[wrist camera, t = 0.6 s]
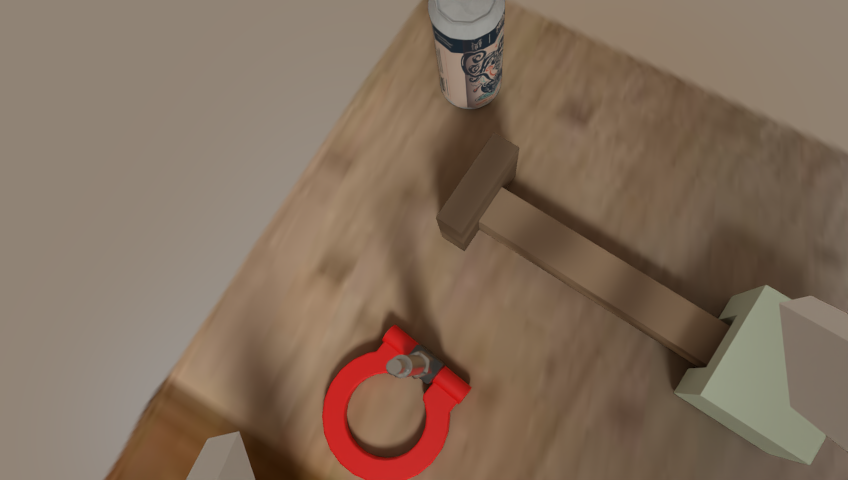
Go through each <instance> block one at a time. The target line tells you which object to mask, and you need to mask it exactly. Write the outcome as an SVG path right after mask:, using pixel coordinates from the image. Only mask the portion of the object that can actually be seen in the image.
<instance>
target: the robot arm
mask: <svg viewBox="0 0 848 480" xmlns="http://www.w3.org/2000/svg"><path fill="white" fill-rule="evenodd" d="M779 307H780V316H781V326H782V335H783V344H784V353H785V363H786V372H787V381H788V390H789V400H790V407H791V408H793V409H794V410H795V411H797V412H798V413H799V414H800V415H802V416H803V417H804V418H805V419H807V420H808V421H809V422H810V423H812V424H813V425H814V426H815V427H817V428H818V429H819V430H820V431H822V432H823V433H824V434H825V435H827V436H828V437H829V438H830V439H832V440H833V441H834V442H835V443H837V444H838V445H839V446H840V447H842V448H843V449H844V450H846V451H847V452H848V314H847V313H845V312H843V311H841V310H839V309H837V308H835V307H833V306H831V305H829V304H827V303H825V302H823V301H821V300H819V299H817V298H815V297H813V296H806V297H802V298H798V299H794V300H790V301H785V302H781V303H779ZM186 480H255V477H254V474H253V471H252V468H251V465H250V462H249V459H248V456H247V453H246V450H245V447H244V444H243V441H242V438H241V435H240V432H239V431H238V432H234V433H230V434H225V435H221V436H217V437H213V438H209V439H207V441H206V443H205V445H204V447H203V449H202V451H201V453H200V454H199V456H198V458H197V460H196V462H195V464H194V466H193V468H192V469H191V471H190V473H189V475H188V477H187V479H186Z"/></svg>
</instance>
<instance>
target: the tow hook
mask: <svg viewBox="0 0 848 480" xmlns="http://www.w3.org/2000/svg"><path fill="white" fill-rule="evenodd" d="M382 341H384V342H383V344H382V345H381V346H380V347H379V349H378V350H377V351H375V352H369V353H366V354H364V355H362V356H360V357H357V358H355V359H353V360H352V361H351V362H350V363H348V364H347V365H346V366H345V367H343V368H342V369H341V370H340V371H339V373H338V374H337V375H336V377H335V378H334V380H333V381H332V382H331V384H330V387H329V389H328V392H327V394H326V397H325V399H324V407H323V414H322V418H323V427H324V434H325V437H326V439H327V442H328V445H329V447H330V450H331V451H332V452H333V454H334V455H335V457H336V458H337V459H338V461H339V462H340V464H342V465H343V466H344V467H345V468H346V469H348V470H349V471H350V472H351V473H353V474H354V475H356V476H358V477H361V478H363V479H365V480H407V479H409V478H411V477H414V476H416V475H418V474H419V473H421V472H422V471H423V470H424V469H425V468H427V467H428V466H429V465H430V464H431V463H432V462H433V461H434V459H435V458H436V456H437V455H438V454H439V452H440V451H441V449H442V448H443V445H444V443H445V440H446V437H447V435H448V432H449V423H450V411H451V410H452V409H453V407H454V406H455V405H456V404H457V403H458V404H459V403H461V401H462V400H463V399H464V398H465V396H466V395H467V394H468V392H469V391H470V390H471V388H472V387H471V386H469V385H468V384H467V383H466V382H465V381H463V380H462V379H461V378H460V377H458V376H457V375H456V374H455V373H454V372H452V371H451V370H450V369H449V368H448V367H446V366H445V363H444V362H443V361H441V360H440V359H439V358H438V357H437V356H435V355H434V354H433V353H432V352H430V351H429V350H428V349H427V348H426V347H424V346H423V345H420V344H419V343H417V342H416V341H415V340H414V339H412V338H411V337H410V336H409V335H408V334H406V333H405V332H404V331H403V330H402V329H400V328H399V327H398V326H397V325H393V326H392V327H391V328H390V329H389V330H388V331H387V332H386V333H385V335H384V337H383V339H382ZM381 373H389V374H391V375H394V376H395V377H398V378H405V377H410V376H412V377H413V378H414V379H416V378H420V379H421V380H422V381H424V382H425V383H426V384H429V383H432V382H433V383H432V384H431V386H430V387H429V388H428V389H427V391H426V392H425V393H424V395H423V401H424V403H425V408H426V415H427V416H426V425H425V429H424V431H423V434H422V437H421V438H420V440H419V441H418V443H417V444H416V445H415V446H414V447H413V448H412V449H411V450H410V451H408V452H407V453H404V454H402V455H400V456H397V457H390V458H385V457H377V456H375V455H372V454H370V453H368V452H366V451H365V450H364V449H362V448H361V447H360V446H359V445H358V444H357V443H356V441H355V440H354V439H353V437H352V435H351V433H350V430H349V428H348V423H347V408H348V403H349V400H350V398H351V395H352V393H353V392H354V390H355V389H356V388H357V386H358V385H359V384H360V383H362V382H363V381H364V380H365V379H367V378H369V377H371V376H373V375H376V374H381Z"/></svg>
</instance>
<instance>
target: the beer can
mask: <svg viewBox="0 0 848 480" xmlns="http://www.w3.org/2000/svg"><path fill="white" fill-rule="evenodd" d="M428 12H429V16H430V19H431V23H432V30H433V36H434V42H435V49H436V55H437V61H438V67H439V74H440V86H441V90H442V93H443V95H444V96H445V97H446V99H447V100H448V101H449V102H450V103H452V104H453V105H455V106H457V107H460V108H463V109H476V108H480V107H483V106H485V105H487V104H488V103H490V102H491V101H492V100H493V99H494V98H495V97H496V95H497V94H498V92H499V89H500V86H501V81H502V59H503V38H504V16H505V0H429V1H428Z"/></svg>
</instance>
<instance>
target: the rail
mask: <svg viewBox="0 0 848 480" xmlns="http://www.w3.org/2000/svg"><path fill="white" fill-rule="evenodd" d="M518 152H519V147H517V146H516V145H514V144H512V143H511V142H509V141H507V140H506V139H504V138H502V137H501V136H499V135H497V134H496V133H493V135H492V136H491V137H490V139H489V140H488V142H487V143H486V145H485V146H484V148H483V149H482V151H481V152H480V154H479V155H478V156H477V158H476V159H475V161H474V162H473V164H472V165H471V167H470V168H469V170H468V171H467V173H466V174H465V176H464V177H463V178H462V180H461V181H460V183H459V184H458V186H457V187H456V189H455V190H454V192H453V193H452V195H451V196H450V197H449V199H448V200H447V202H446V203H445V205H444V206H443V208H442V209H441V211H440V212H439V214H438V215H437V217H436V219H437V222H438V225H439V228H440V231H441V234H442V237H443V238H445V239H446V240H448V241H450V242H451V243H453V244H454V245H456V246H457V247H459V248H461V249H462V250H464V251H465V250H466V248H467V247H468V245H469V244H470V242H471V241H472V239H473V238H474V236H475V235H476V233H477V232H478V230H479V229H480V230H481V231H483V232H485V233H486V234H488V235H489V236H491V237H493V238H494V239H496V240H497V241H499V242H501V243H502V244H504V245H505V246H507V247H508V248H510V249H512V250H513V251H515V252H516V253H518V254H520V255H521V256H523V257H524V258H526V259H528V260H529V261H531V262H532V263H534V264H535V265H537V266H539V267H540V268H542V269H543V270H545V271H547V272H548V273H550V274H551V275H553V276H554V277H556V278H558V279H559V280H561V281H562V282H564V283H566V284H567V285H569V286H570V287H572V288H574V289H575V290H577V291H578V292H580V293H581V294H583V295H585V296H586V297H588V298H589V299H591V300H593V301H594V302H596V303H597V304H599V305H601V306H602V307H604V308H605V309H607V310H608V311H610V312H612V313H613V314H615V315H616V316H618V317H620V318H621V319H623V320H624V321H626V322H628V323H629V324H631V325H632V326H634V327H635V328H637V329H639V330H640V331H642V332H643V333H645V334H647V335H648V336H650V337H651V338H653V339H654V340H656V341H658V342H659V343H661V344H662V345H664V346H666V347H667V348H669V349H670V350H672V351H674V352H675V353H677V354H678V355H680V356H681V357H683V358H685V359H686V360H688V361H689V362H691V363H693V364H694V365H696V366H697V367H699V368H705V367H707V365H708V363H709V362H710V360H711V358H712V357H713V355H714V353H715V352H716V350H717V348H718V347H719V345H720V343H721V342H722V340H723V338H724V337H725V335H726V333H727V332H728V330H729V328H730V327H731V326H729V325H727V324H726V323H724V322H722V321H721V320H719V319H718V318H716V317H714V316H713V315H711V314H709V313H708V312H706V311H704V310H703V309H701V308H699V307H698V306H696V305H695V304H693V303H691V302H690V301H688V300H686V299H685V298H683V297H681V296H680V295H678V294H677V293H675V292H673V291H672V290H670V289H668V288H667V287H665V286H663V285H662V284H660V283H658V282H657V281H655V280H654V279H652V278H650V277H649V276H647V275H645V274H644V273H642V272H640V271H639V270H637V269H635V268H634V267H632V266H631V265H629V264H627V263H626V262H624V261H622V260H621V259H619V258H617V257H616V256H614V255H613V254H611V253H609V252H608V251H606V250H604V249H603V248H601V247H599V246H598V245H596V244H594V243H593V242H591V241H590V240H588V239H586V238H585V237H583V236H581V235H580V234H578V233H576V232H575V231H573V230H572V229H570V228H568V227H567V226H565V225H563V224H562V223H560V222H558V221H557V220H555V219H553V218H552V217H550V216H549V215H547V214H545V213H544V212H542V211H540V210H539V209H537V208H535V207H534V206H532V205H531V204H529V203H527V202H526V201H524V200H522V199H521V198H519V197H517V196H516V195H514V194H512V193H511V192H509V191H508V190H506V188H507V187H508V185H509V184H510V182H511V181H512V180H513V178H514V177H515V175H516V167H517V160H518Z"/></svg>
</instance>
